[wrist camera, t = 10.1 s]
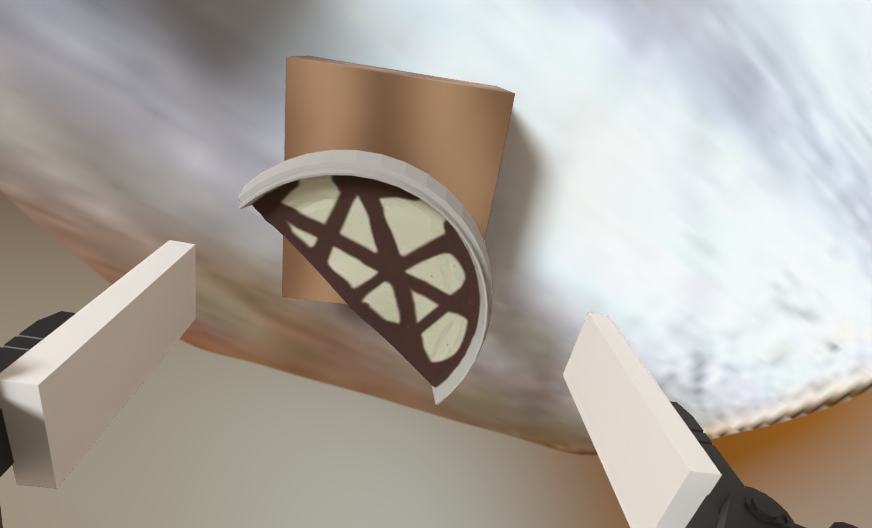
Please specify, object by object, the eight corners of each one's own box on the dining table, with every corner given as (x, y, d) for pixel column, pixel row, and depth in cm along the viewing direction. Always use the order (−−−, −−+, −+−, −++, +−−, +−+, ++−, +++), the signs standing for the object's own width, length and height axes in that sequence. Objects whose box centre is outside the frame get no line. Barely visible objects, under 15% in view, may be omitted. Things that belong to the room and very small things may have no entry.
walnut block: (496, 86, 30) (515, 93, 25) (459, 276, 36) (468, 316, 30) (309, 55, 29) (286, 56, 24) (302, 258, 35) (282, 297, 29)
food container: (508, 251, 28) (561, 329, 19) (431, 311, 29) (444, 413, 20) (374, 83, 25) (356, 77, 15) (290, 158, 26) (225, 196, 16)
